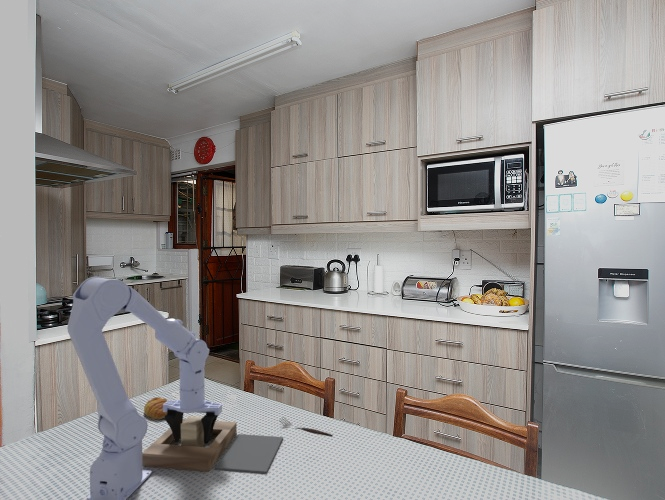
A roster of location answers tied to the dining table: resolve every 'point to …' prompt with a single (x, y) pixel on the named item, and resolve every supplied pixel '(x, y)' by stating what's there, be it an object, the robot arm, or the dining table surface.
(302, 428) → the fork
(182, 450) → the wooden square frame
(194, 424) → the block
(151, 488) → the dining table surface
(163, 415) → the pastry
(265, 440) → the mat
